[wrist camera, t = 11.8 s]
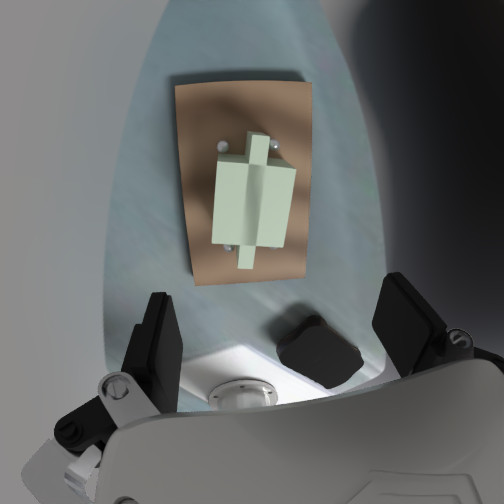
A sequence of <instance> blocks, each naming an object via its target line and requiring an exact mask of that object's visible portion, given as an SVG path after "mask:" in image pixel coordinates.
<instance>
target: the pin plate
mask: <svg viewBox="0 0 504 504" xmlns="http://www.w3.org/2000/svg"><path fill="white" fill-rule="evenodd" d="M175 101H176V120H177V135H178V148H179V160H180V171H181V182H182V191H183V200H184V209H185V218H186V226H187V233H188V241H189V248H190V255H191V262H192V269H193V275H194V282H195V286H203V285H219V284H234V283H248V282H261V281H274V280H286V279H298V278H305V269H306V256H307V243H308V227H309V210H310V188H311V158H312V83H311V82H296V81H224V82H208V83H197V84H187V85H179V86H175ZM247 131H251V132H260V133H264V134H266V135H268V136H270V141H269V149H268V158H276V159H284V160H285V161H287V162H288V163H289V164H291V165H292V166H293V167H294V168H296V175H295V181H294V187H293V194H292V200H291V206H290V212H289V217H288V223H287V229H286V235H285V240H284V246H283V248H281V247H265V246H256V248H255V256H254V263H253V269H239V268H238V267H237V257H236V247H235V245H231V244H213V243H212V229H213V213H214V199H215V185H216V173H217V161H218V154H219V153H223V154H236V155H245V147H246V138H247Z"/></svg>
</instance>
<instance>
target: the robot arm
mask: <svg viewBox="0 0 504 504" xmlns="http://www.w3.org/2000/svg"><path fill="white" fill-rule="evenodd" d="M372 327H373V330H374V331H375V333H376V335H377V336H378V338H379V340H380V341H381V343H382V345H383V346H384V348H385V350H386V352H387V353H388V355H389V357H390V358H391V360H392V362H393V364H394V366H395V367H396V369H397V371H398V373H399V374H400V376H401V378H400V379H397V380H394V381H390V382H387V383H383V384H380V385H376V386H372V387H368V388H364V389H361V390H356V391H352V392H348V393H343V394H338V395H334V396H329V397H324V398H318V399H313V400H307V401H301V402H294V403H288V404H280V405H276V403H277V401H278V395H277V391H276V390H275V388H274V387H272V386H271V385H269V384H267V383H264V382H261V381H256V380H238V381H232V382H228V383H225V384H222V385H220V386H218V387H217V388H215V389H214V390H213V391H212V392H211V393H210V396H209V405H210V407H211V408H212V409H213V410H214V411H194V412H177V402H178V391H179V380H180V371H181V361H182V352H183V343H182V338H181V335H180V331H179V327H178V323H177V319H176V315H175V310H174V306H173V302H172V298H171V295H167V294H166V292H153V293H152V294H151V297H150V300H149V303H148V306H147V309H146V312H145V315H144V319H143V322H142V324H136V325H135V327H134V329H133V332H132V335H131V339H130V342H129V345H128V348H127V351H126V355H125V358H124V361H123V365H122V368H121V372H113V373H110V374H108V375H106V376H105V377H103V379H102V380H101V381H100V383H99V385H98V394H99V395H98V396H96V397H95V398H93V399H92V400H90V401H88V402H87V403H85V404H84V405H82V406H80V407H79V408H77V409H76V410H74V411H72V412H70V413H69V414H67V415H66V416H64V417H62V418H61V419H60V420H59V421H58V422H57V423H56V425H55V428H54V436H55V437H54V438H53V439H52V440H50V439H48V440H47V441H46V442H45V443H44V444H43V445H42V447H41V448H40V449H39V450H38V451H37V452H36V453H35V454H34V456H33V457H32V458H31V459H30V460H29V461H28V462H27V463H26V464H25V466H24V467H23V469H22V473H21V476H22V481H23V483H24V484H25V486H26V487H27V488H28V489H29V490H30V492H31V493H32V494H33V495H34V496H35V498H36V499H37V500H38V501H39V502H40V503H41V504H504V358H502V357H501V356H499V355H496V354H493V353H490V352H488V351H485V350H482V349H479V348H476V347H474V342H473V339H472V337H471V336H470V335H469V334H468V333H467V332H466V331H464V330H462V329H457V328H455V329H451V330H449V331H448V333H447V331H446V328H447V325H446V324H445V323H444V321H443V320H442V319H441V318H440V317H439V315H438V314H437V313H436V312H435V311H434V309H433V308H432V307H431V306H430V305H429V304H428V303H427V301H426V300H425V299H424V298H423V297H422V296H421V295H420V293H419V292H418V291H417V290H416V289H415V288H414V287H413V286H412V284H411V283H410V282H409V281H408V280H407V279H406V278H405V277H404V276H403V275H402V274H401V273H400V272H394V273H388V274H387V276H386V277H385V278H384V279H383V283H382V287H381V291H380V295H379V299H378V302H377V306H376V310H375V313H374V317H373V320H372ZM176 412H177V413H176ZM99 467H100V468H99ZM93 468H99V473H98V479H97V486H96V494H95V503H94V502H93V501H92V500H90V498H89V497H88V496H87V495H86V492H85V484H86V482H87V480H88V478H89V477H90V476H91V475H90V474H89V473H90V472H91V471H92V470H93ZM134 500H136V501H134Z"/></svg>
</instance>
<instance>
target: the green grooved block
mask: <svg viewBox="0 0 504 504" xmlns="http://www.w3.org/2000/svg"><path fill="white" fill-rule="evenodd" d="M269 141H270V136H268V135H266V134H264V133H260V132H251V131H247V138H246V147H245V155H236V154H223V153H219V154H218V161H217V173H216V185H215V199H214V213H213V229H212V243H213V244H231V245H235V247H236V257H237V267H238V268H239V269H253V263H254V256H255V248H256V246H265V247H281V248H283V246H284V240H285V235H286V229H287V223H288V217H289V212H290V206H291V200H292V194H293V187H294V181H295V175H296V168H294V167H293V166H292V165H291V164H289V163H288V162H287V161H285V160H284V159H276V158H268V149H269Z"/></svg>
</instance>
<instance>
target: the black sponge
mask: <svg viewBox="0 0 504 504" xmlns="http://www.w3.org/2000/svg"><path fill="white" fill-rule="evenodd" d="M276 352H277V354H278V357H279V359H280V361H281V363H282V364H283V365H285V366H286V367H288V368H290V369H293V370H294V371H296V372H298V373H300V374H302V375H304V376H306V377H308V378H309V379H311V380H314V381H315V382H318V383H319V384H321V385H322V386H324V387H325V388H326V389H331V388H334V387H336V386H339V385H341V384H343V383H345V382H346V381H347V380H349V379H350V378H351V377H352V375H353V374H354V373H355V372H357V371H358V370H359V369H360V368H361V367H362V366H363V365H364V361H363V359H362V357H361V352H360V351H359V349H356V348H354V347H353V346H351V345H350V344H349V343H347V342H346V341H345V340H344V339H343V338H341V337H340V336H339V335H338V334H337V333H336V332H335V331H333V330H332V329H331V328H330V327H328V326H327V324H326V322H325V320H324V319H323V318H321V317H319V316H311V317H309V318H307V319H306V320H305V321H304V322H303V323H302V324H301V325H300V326H299V327H298V328H297V329H296V330H295V331H294V332H293V333H291V334H290V335H288V336H287V337H286V338H284V339H282V340H281V341H280V342H279V344H278V346H277V348H276Z"/></svg>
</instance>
